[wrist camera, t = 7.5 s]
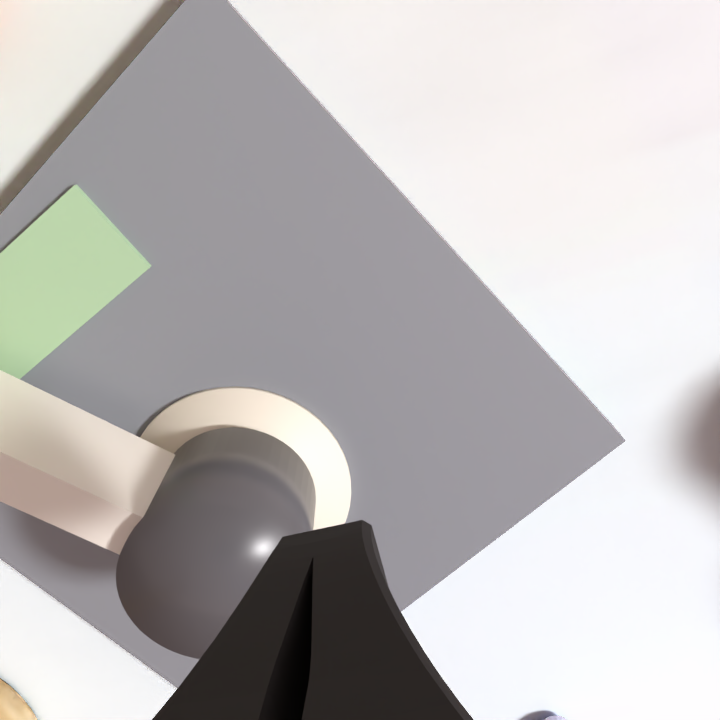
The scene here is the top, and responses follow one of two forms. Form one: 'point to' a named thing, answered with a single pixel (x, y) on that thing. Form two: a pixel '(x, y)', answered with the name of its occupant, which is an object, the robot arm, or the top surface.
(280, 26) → the top surface
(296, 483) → the peg dial
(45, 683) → the top surface
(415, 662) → the robot arm
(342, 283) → the board
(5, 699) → the hand bell
